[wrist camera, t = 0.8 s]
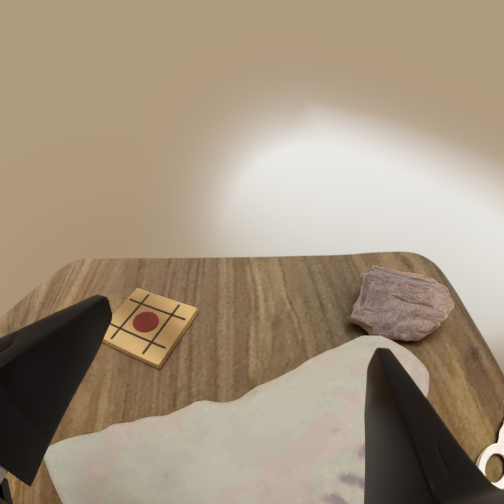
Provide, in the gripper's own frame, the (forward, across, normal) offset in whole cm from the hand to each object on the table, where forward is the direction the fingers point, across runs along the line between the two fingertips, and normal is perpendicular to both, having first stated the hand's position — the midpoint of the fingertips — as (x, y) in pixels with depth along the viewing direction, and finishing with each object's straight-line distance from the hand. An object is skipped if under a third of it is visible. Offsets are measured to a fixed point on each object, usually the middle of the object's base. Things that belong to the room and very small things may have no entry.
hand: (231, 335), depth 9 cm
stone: (+1, -4, +16) cm, 17 cm away
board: (+13, +12, +15) cm, 24 cm away
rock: (+21, -14, +14) cm, 29 cm away
